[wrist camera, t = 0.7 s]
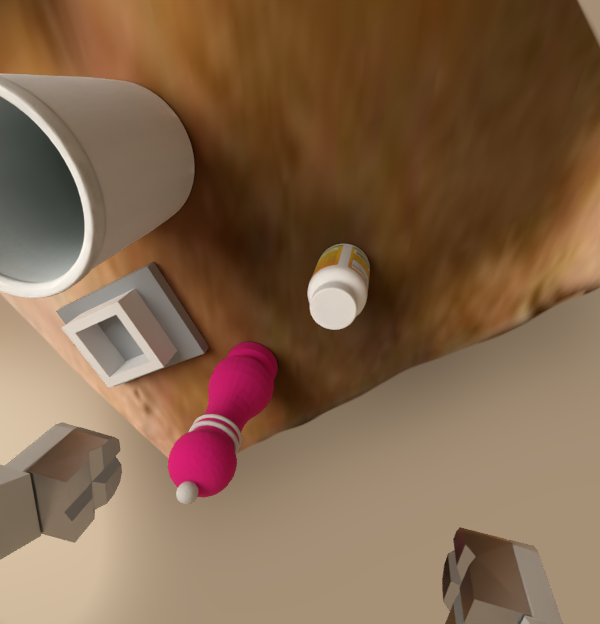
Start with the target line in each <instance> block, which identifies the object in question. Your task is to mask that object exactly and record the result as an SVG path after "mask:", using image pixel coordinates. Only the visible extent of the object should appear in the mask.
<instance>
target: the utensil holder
mask: <svg viewBox="0 0 600 624" xmlns="http://www.w3.org/2000/svg"><path fill="white" fill-rule="evenodd" d="M194 174H195V165H194V155H193V150H192V146H191V143H190V140H189V137H188V135H187V132H186V130H185V128H184V126H183V124H182V123H181V121H180V119H179V118H178V116H177V115H176V114H175V112H174V111H173V110H172V109H171V108H170V107H169V105H168V104H167V103H166V102H164V101H163V100H162V99H161V98H160V97H159V96H157V95H156V94H154V93H153V92H151V91H150V90H148V89H146V88H144V87H142V86H140V85H137V84H135V83H131V82H127V81H121V80H112V79H102V78H91V77H70V76H43V75H25V74H0V291H1V292H4V293H7V294H10V295H14V296H19V297H25V298H43V297H48V296H53V295H56V294H58V293H61V292H63V291H65V290H67V289H69V288H70V287H72V286H73V285H75V284H76V283H78V282H79V281H80V280H81V279H83V278H84V277H85V276H86V275H87V274H88V273H89V272H90V270H91V269H93V268H94V267H96V266H98V265H99V264H101V263H102V262H104V261H105V260H107V259H109V258H110V257H112V256H113V255H115V254H116V253H118V252H120V251H121V250H123V249H124V248H126V247H128V246H129V245H131V244H132V243H134V242H136V241H137V240H139V239H140V238H142V237H143V236H145V235H146V234H148V233H149V232H151V231H152V230H154V229H155V228H157V227H158V226H159V225H161V224H162V223H164V222H165V221H166V220H168V219H169V218H170V217H172V216H173V215H174V214H175V213H177V212H178V211H179V210H180V209H181V207H182V206H183V205H184V204H185V202H186V200H187V198H188V196H189V194H190V192H191V189H192V185H193V181H194Z"/></svg>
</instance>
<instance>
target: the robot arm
mask: <svg viewBox="0 0 600 624" xmlns="http://www.w3.org/2000/svg"><path fill="white" fill-rule="evenodd" d="M119 451H120V443H119V440H118V439H117V438H115V437H112V436H108V435H104V434H101V433H98V432H95V431H91V430H87V429H84V428H79V427H76V426H73V425H69V424H66V423H60V424H56V425H54V426H53V427H52V428H51V429H49V430H48V431H47V432H46V433H45V434H43V435H42V436H41V437H39V438H38V439H37V440H36V441H35V442H33V443H32V444H31V445H30V446H28V447H27V448H26V449H25V450H24V451H22V452H21V453H20V454H19V455H17V456H16V457H15V458H14V459H12V460H11V461H10V462H9V463H7V464H6V465H5V466H2V465H0V559H2V558H4V557H6V556H7V555H9V554H11V553H12V552H14V551H16V550H17V549H19V548H21V547H22V546H24V545H26V544H28V543H29V542H31V541H33V540H34V539H36V538H38V537H40V536H41V534H45V535H49V536H53V537H56V538H60V539H63V540H68V541H71V542H76V541H77V539H78V538H79V537H80V536H81V534H82V533H83V532H84V531H85V530H86V528H87V527H88V526H89V525H90V523H91V522H92V521H93V520H94V513H95V509H97V508H99V507H101V506H103V505H105V504H107V502H108V501H109V500H110V499H111V498H112V496H113V495H114V493H115V491H116V489H117V487H118V485H119V483H120V479H121V473H122V469H121V464H120V462H119V461H118V459H117V458H116V455H117V454H118V453H119ZM453 540H454V549H455V550H454V551H452V552H450V553H448V555H447V558H446V561H445V564H444V571H443V578H442V591H443V602H444V603H445V604H446V606H447V608H448V609H449V611H450V613H449V615H448V618H447V620H446V623H445V624H563V623H562V620H561V617H560V614H559V611H558V608H557V605H556V602H555V600H554V597H553V594H552V591H551V588H550V585H549V582H548V579H547V576H546V573H545V571H544V568H543V565H542V562H541V559H540V556H539V553H538V551H537V549H536V548H535V547H534V546H532V545H528V544H524V543H519V542H516V541H512V540H506V539H504V538H500V537H496V536H492V535H488V534H484V533H480V532H476V531H472V530H468V529H464V528H459V529H458V530H457V531H456V534H455V537H454V539H453Z"/></svg>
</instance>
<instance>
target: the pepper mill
mask: <svg viewBox="0 0 600 624" xmlns="http://www.w3.org/2000/svg"><path fill="white" fill-rule="evenodd" d="M277 370H278V365H277V361H276V358H275V356H274V355H273V354H272V352H271V351H270V350H269V349H267V348H266V347H265V346H263V345H261V344H258V343H254V342H243V343H240V344H238V345H236V346H235V347H233V348H232V350H231V351H230V353H229V354H228V356H227V358H225V359H223V360H222V361H220V362H219V363H218V364H217V366H216V367H215V369H214V371H213V373H212V375H211V378H210V382H209V403H208V407H207V410H206V412H205V415H202V416H200V417H198V418H197V419H196V420H195V421H194V423H193V426H192V427H191V428H190V430H189V432H188V433H186V434H184V435H183V436H182V437H180V438H179V439H178V440H177V441H176V443H175V444H174V446H173V448H172V450H171V452H170V455H169V460H168V470H169V474H170V477H171V479H172V481H173V482H174V484H175V485H176V486H177V487H178V489H177V492H176V495H177V499H178V500H179V502H181V503H182V504H190V503H192V502H194V501H195V500H196V498H197V497H208V496H212V495H215V494H217V493H219V492H220V491H222V490H223V489H224V488H225V487H226V486H227V485H228V483H229V482H230V481H231V480H232V478H233V476H234V473H235V470H236V466H237V458H236V454H237V452H238V450H239V447H240V445H241V442H242V436H241V431H242V429H243V427H244V425H245V424H246V423H247V421H248V420H249V419H251V418H253V417H254V416H256V415H257V414H259V413H260V412H261V411H262V410H263V409H264V408H265V407H266V406H267V404H268V403H269V401H270V399H271V397H272V395H273V391H274V382H273V381H274V379H275V376H276V374H277Z"/></svg>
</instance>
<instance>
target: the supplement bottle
mask: <svg viewBox="0 0 600 624" xmlns="http://www.w3.org/2000/svg"><path fill="white" fill-rule="evenodd" d="M369 276H370V264H369V261H368V258H367V257H366V255H365V254H364V252H363V251H362V250H360V249H359V248H358V247H356V246H353V245H350V244H337V245H334V246H332V247H330V248H328V249H327V250H326V251H325V252H324V253H323V254H322V255H321V257H320V259H319V261H318V264H317V266H316V268H315V271H314V273H313V275H312V278H311V280H310V283H309V286H308V300H309V303H310V312H311V315H312V317H313V319H314V320H315V321H316V322H317V323H318V324H319V325H320V326H322V327H324V328H327V329H332V330H337V329H342V328H345V327H347V326H348V325H350V324H351V323H352V322H353V320H354V319H355V317H356V316H357V315H359V314H360V312H361V311H362V310H363V308H364V306H365V304H366V300H367V294H368V285H369Z"/></svg>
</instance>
